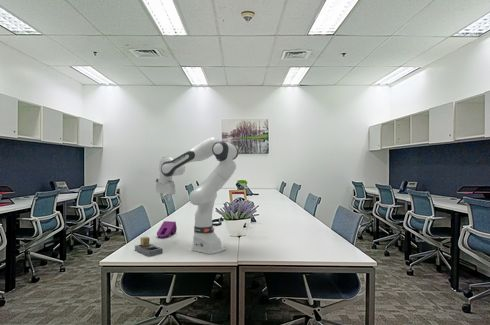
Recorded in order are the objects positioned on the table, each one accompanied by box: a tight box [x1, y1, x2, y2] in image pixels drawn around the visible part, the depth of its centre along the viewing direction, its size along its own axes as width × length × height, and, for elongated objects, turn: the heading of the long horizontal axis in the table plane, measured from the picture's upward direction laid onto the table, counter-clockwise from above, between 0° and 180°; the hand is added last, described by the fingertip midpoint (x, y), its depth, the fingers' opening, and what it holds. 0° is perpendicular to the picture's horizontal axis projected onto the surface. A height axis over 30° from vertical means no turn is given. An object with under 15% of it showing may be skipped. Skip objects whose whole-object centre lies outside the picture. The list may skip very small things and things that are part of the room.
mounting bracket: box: [156, 220, 178, 239], centre depth 232 cm, size 9×8×18 cm
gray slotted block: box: [134, 242, 164, 257], centre depth 189 cm, size 18×9×3 cm, turn 45°
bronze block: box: [139, 236, 150, 247], centre depth 192 cm, size 4×4×8 cm
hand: (165, 199), depth 213 cm, fingers open, 8 cm apart
